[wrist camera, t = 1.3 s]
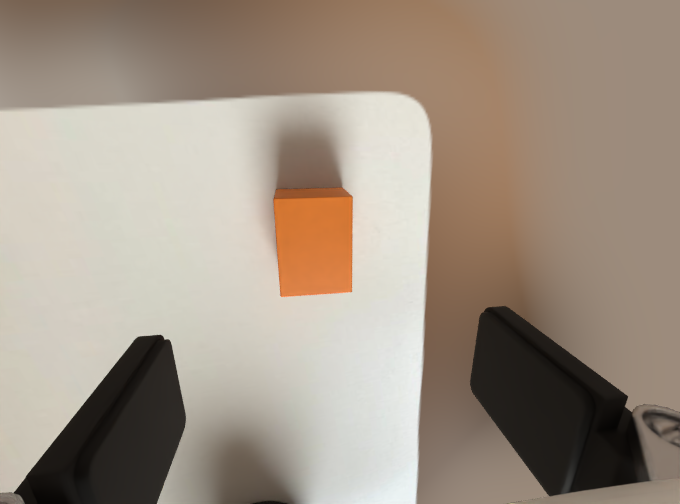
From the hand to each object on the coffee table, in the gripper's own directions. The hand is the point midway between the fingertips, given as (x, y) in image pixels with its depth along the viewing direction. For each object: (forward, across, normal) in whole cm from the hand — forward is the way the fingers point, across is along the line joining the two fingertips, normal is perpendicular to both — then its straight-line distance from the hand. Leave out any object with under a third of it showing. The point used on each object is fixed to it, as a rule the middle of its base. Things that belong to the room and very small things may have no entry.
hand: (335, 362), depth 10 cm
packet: (+13, 0, 0) cm, 13 cm away
